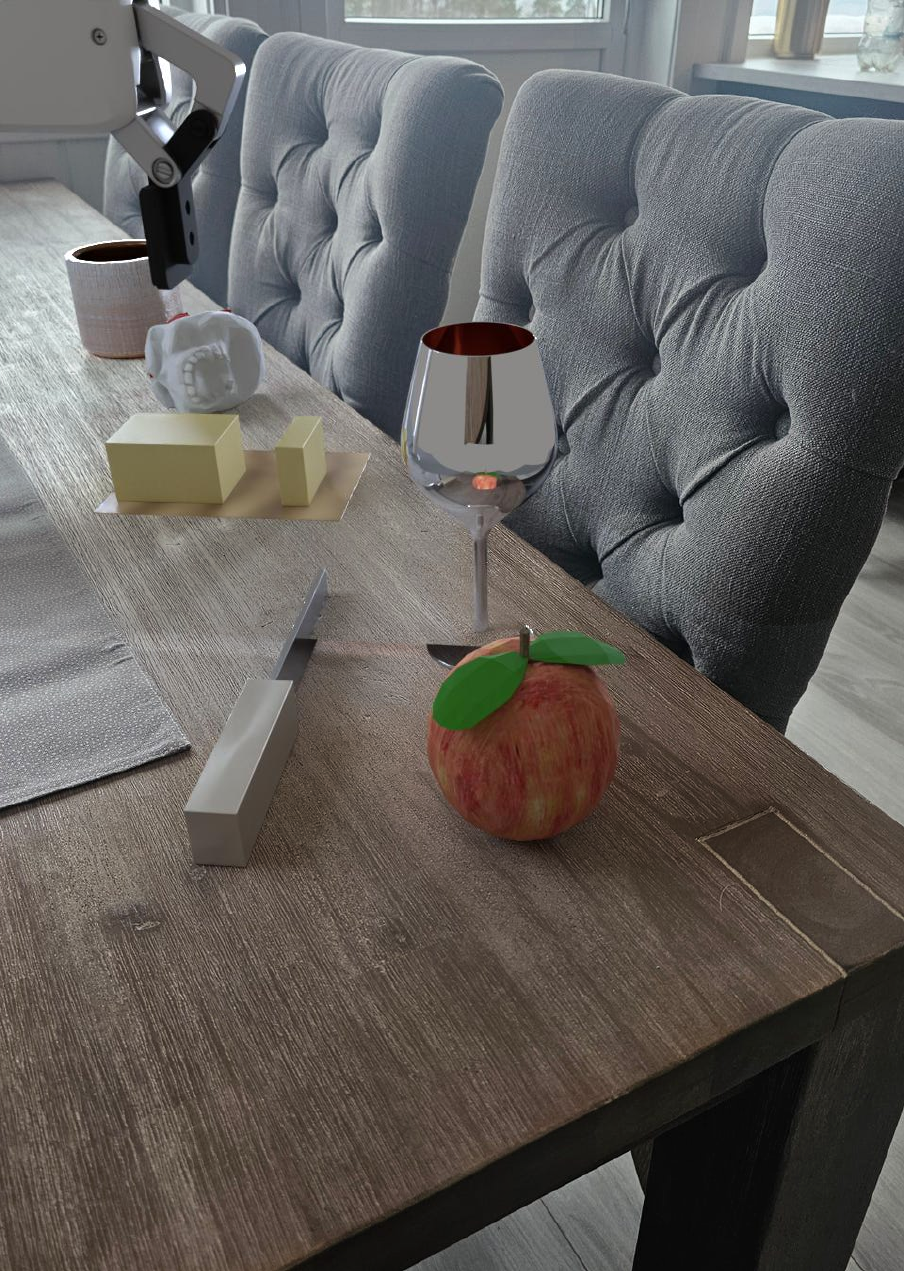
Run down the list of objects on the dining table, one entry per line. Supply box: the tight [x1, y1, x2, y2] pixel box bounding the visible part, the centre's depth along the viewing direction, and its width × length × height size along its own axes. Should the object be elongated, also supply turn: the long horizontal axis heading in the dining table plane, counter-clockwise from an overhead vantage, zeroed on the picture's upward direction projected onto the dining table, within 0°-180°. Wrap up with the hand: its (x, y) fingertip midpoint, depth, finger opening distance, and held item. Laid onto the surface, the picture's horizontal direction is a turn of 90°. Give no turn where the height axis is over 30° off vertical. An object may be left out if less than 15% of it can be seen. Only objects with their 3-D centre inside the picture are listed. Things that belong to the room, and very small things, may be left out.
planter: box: [64, 239, 184, 359], centre depth 110 cm, size 11×11×10 cm
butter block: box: [104, 411, 246, 504], centre depth 78 cm, size 8×6×4 cm
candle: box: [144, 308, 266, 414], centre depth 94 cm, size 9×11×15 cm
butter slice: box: [274, 415, 327, 506], centre depth 77 cm, size 2×6×4 cm, turn 174°
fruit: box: [426, 627, 627, 842], centre depth 47 cm, size 9×10×10 cm
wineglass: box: [400, 320, 559, 670], centre depth 57 cm, size 8×8×18 cm
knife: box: [182, 567, 329, 868], centre depth 55 cm, size 22×2×3 cm, turn 173°
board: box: [93, 449, 372, 522], centre depth 80 cm, size 18×12×1 cm, turn 83°
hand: (66, 277), depth 45 cm, fingers open, 9 cm apart
